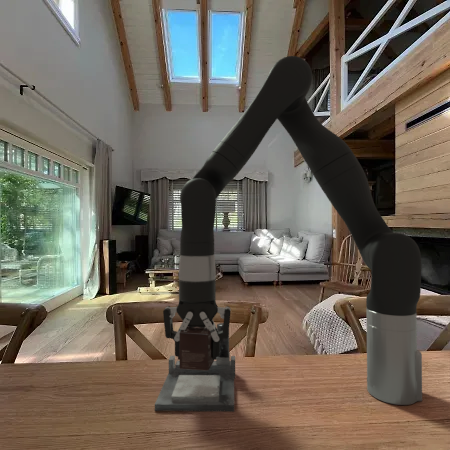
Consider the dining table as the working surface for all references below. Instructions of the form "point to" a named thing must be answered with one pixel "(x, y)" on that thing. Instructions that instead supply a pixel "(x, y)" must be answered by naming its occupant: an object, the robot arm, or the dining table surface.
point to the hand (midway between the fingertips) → (197, 358)
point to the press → (198, 388)
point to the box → (195, 349)
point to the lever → (223, 349)
